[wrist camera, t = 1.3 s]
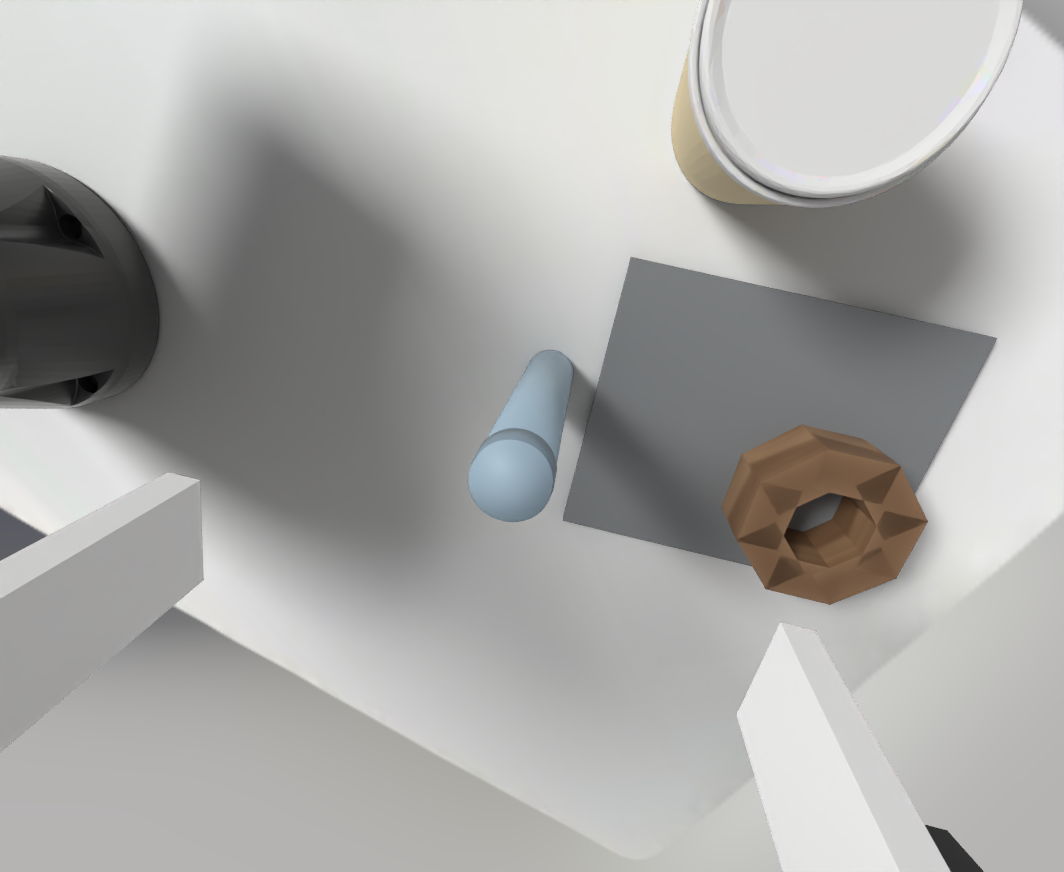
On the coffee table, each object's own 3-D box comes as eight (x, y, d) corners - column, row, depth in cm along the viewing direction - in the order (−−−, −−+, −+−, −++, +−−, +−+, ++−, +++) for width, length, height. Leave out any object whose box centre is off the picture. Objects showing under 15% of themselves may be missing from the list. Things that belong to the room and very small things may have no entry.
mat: (563, 516, 36) (562, 520, 35) (630, 257, 29) (631, 257, 29) (856, 586, 35) (861, 592, 34) (989, 336, 29) (996, 338, 28)
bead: (707, 541, 34) (720, 578, 31) (756, 413, 31) (778, 437, 27) (845, 575, 34) (875, 616, 30) (909, 449, 31) (952, 477, 27)
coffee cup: (837, 210, 27) (1003, 187, 16) (655, 229, 29) (692, 220, 18) (857, -8, 24) (1079, -221, 13) (651, 25, 26) (693, -143, 14)
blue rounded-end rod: (522, 389, 33) (460, 511, 18) (532, 344, 32) (474, 434, 17) (568, 399, 33) (542, 532, 18) (578, 355, 32) (562, 455, 17)
